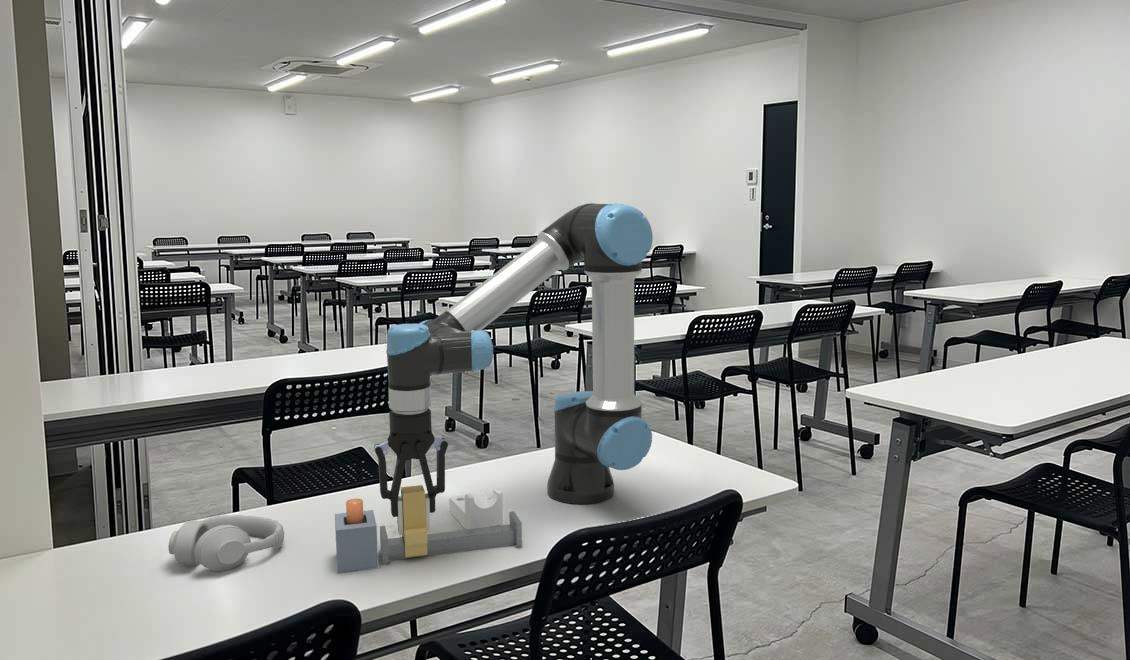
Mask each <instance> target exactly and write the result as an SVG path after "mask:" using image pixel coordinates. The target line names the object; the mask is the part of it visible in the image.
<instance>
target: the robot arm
mask: <svg viewBox="0 0 1130 660" xmlns="http://www.w3.org/2000/svg"><path fill="white" fill-rule="evenodd" d="M651 226H652V225H651V224H650V221H649V219H648V218H647V217H646V215H645V214H644V213H643V212H642V211H641V210H639V208H636V207H634V206H633V205H629V204H628V205H626V204H624V203H616V202H614V203H591V202H590V203H585V204H581V205H578V206H576V207H574V208H573V209H571V210H569V211H568V212H566V213H565V214H563V215H562V216H560V217H559V218H557V219H556V220H555V221H553V222H552V223H551V224H550V225H548V226H547V227H545V228H544V229H543V230H542V231H541V232H539V233H538V234H537V239H536V241H535V242H534V243H532V244H531V245H530V246H529V247H527V248H526V249H525V250H524V251H522V252H521V253H520V254H518V255H517V256H516V257H514V258H513V259H512V260H510V261H509V262H508V263H506V264H505V265H504V266H503V267H501V268H500V269H499V270H497V271H496V272H494V274H492V275H491V276H489V277H488V278H487V279H486V280H484V281H483V282H482V283H480V284H479V285H477V287H475V288H474V289H473V290H471V291H470V292H469V293H468V294H466V295H465V296H464V297H462V298H461V299H460V300H458V301H457V302H456V303H455V304H453V305H452V306H450V307H449V308H448V309H447V310H445V311H444V312H442V313H440V315H438V316H437V317H435V318H434V319H427V320H423V321H421V322H419V323H399V324H396V325H393V326H390V327H389V328H388V330H387V334H386V352H385V353H386V362H387V376H388V407H389V409H390V411H389V414H388V415H389V416H388V417H389V435H388V437H387V440H386V441H384V442H382V443H380V444H379V443H375V444H374V446H373V448H374V453H375V454H376V457H377V461H378V462H377V463H378V465H377V466H378V476H379V477H378V478H379V493H380V497H381V498H382V499H383V500H390V513H391V515H392V517H393V518H396V519H397V532H398V535H399V536H402V535H403V510H402V499H401V495H400V492H401V487H402V486H401V485H402V479H403V474H404V469H405V466H406V461H410V460H418V461H419V465H420V469H421V471H422V472H421V473H422V477H423V480H424V483H425V487H426V491H427V493H426V492H425V512H426V529H427V533H430V532H431V514H433V513H435V512H436V497H437V495H438V494H443V493H444V492H445V490H446V466H445V465H446V452H447V450H448V447H449V443H448V441H447V439H446V438H444V437H442V438H438V437H436V436H435V435H434V434H433V429H432V410H431V409H429V408H430V407H432V401H431V400H432V399H431V398H432V397H431V376H437V375H445V374H446V375H447V374H457V373H466V372H473V373H474V372H477V371H481V370H485V369H488V368H489V367H491V364H492V361H493V360H494V359H493V358H494V345H493V342H492V338H491V336H490V334H489V333H488V332H487V331H485V330H484V329H485V328H486V327H487V326H489V325H490V324H491V323H492V322H494V321H495V320H496V319H498V317H500V316H502V314H504V313H505V312H506V311H508V310H509V309H510V308H511V307H513V306H514V305H515V304H517V303H518V302H519V301H521V300H522V299H523V298H524V297H526V296H527V295H528V294H530V293H531V292H532V291H533V290H535V289H536V288H537V287H539V286H540V285H541V284H543V283H544V282H545V281H546V280H548V279H549V278H550V277H551V276H553V275H554V274H556V273H557V272H558V271H568V270H569V268H571V267H572V266H573V265H576V264H577V263H579V262H582V261H583V265H584V266H583V272H584V273H585V274H586V275H587V276H588V277H589V278H590V279H591V317H592V318H591V320H592V321H591V322H592V323H591V327H592V329H591V330H592V331H591V333H592V334H591V335H592V336H591V338H592V341H591V342H592V344H591V345H592V347H591V348H592V390H589V391H588V390H587V391H573V392H566V393H562V394H560V395H558V396H557V397H556V399H555V401H554V410H553V413H554V461H553V463H552V464H553V465H552V467H551V470H550V473H549V476H548V479H547V488H546V489H547V495H548V496H549V497H550V498H551V499H554V500H556V501H558V502H563V503H566V504H567V503H568V504H575V505H578V504H579V505H580V504H581V505H585V504H587V505H588V504H596V503H599V502H600V503H601V502H604V501H606V500H609V499H611V498H612V497H613V496H614V495H615V481H614V478H613V476H612V472H611V470H610V468H612V469H614V470H617V471H626V470H629V469H632V468H635V467H636V466H638V465H639V464H640V463H641V462H642V460H643V459H644V458H646V456H647V455H648V453H649V452H650V450H651V447H652V442H653V432H652V428H651V427H650V424H648V422H647V421H646V420H645V419H643V418H642V413H643V411H642V410H643V409H642V408H643V407H642V406H643V404H642V403H643V402H642V400H641V399H640V398H639V397H637V395H636V394H635V279H636V278H637V277H638V276H639V275H640V274H641V273H642V270H643V269H642V268H643V267H642V261H644V260H645V259H646V258H647V254H648V253H650V251H651V248H652V246H653V240H654V239H653V231H652V227H651ZM433 444H434V448H435V449H434V450H436V484H435V485H434V483H433V479H432V476H431V471H430V467H429V465H428V459H427V456H426V455H427V453H428V452H429V450H430V449H431V447H432V445H433ZM389 448H390V449H391V450H392V452H393V453H394V454H395V455H396V461H395V462H396V463H395V467H394V473H393V477H392V482H391V487H390V490H389V489H388V474H387V460H386V456H387V455H388V452H389V451H388V450H389Z"/></svg>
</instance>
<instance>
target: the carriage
mask: <svg viewBox="0 0 1130 660" xmlns="http://www.w3.org/2000/svg"><path fill="white" fill-rule="evenodd" d="M425 494H426V491H425V488H424V486H423V484H419V485H409V486H400V496H401V499H402V510H403V535H401V537H403V539H404V542H405V557H413V556H421V555H427V543H428V542H427V534H428V532H427V529H426V512H425Z"/></svg>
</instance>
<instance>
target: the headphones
mask: <svg viewBox="0 0 1130 660" xmlns="http://www.w3.org/2000/svg"><path fill="white" fill-rule="evenodd" d="M257 536H258V538H262V537H263V539H261V540H254V541H251V537H257ZM284 540H285V531H284V527H283V525H282V524H281V523H280V521H277V520H276V519H272V518H270V517H269V518H268V517H263V516H256V515H242V514H233V515H232V514H231V515H225V514H224V515H223V514H221V515H216V516H211V517H207V518H205V519H203V520H196V519H195V520H192V519H191V520H188V521H185V522H184V523H183V524H182V525H181V527H180V528H179V529H178V530H175V531H173V532H172V533H171V535H170V537H169V540H168V546H167V547H168V553H169V554H170V555H173V556H174V558H175V561H176V563H177V564H178V565H180V566H193V567H194V566H198V565H201V566H203V567H204V568H206V569H208V570H211V571H214V572H227V571H229V570H233V569H235V568H236V567H238V566H240V565H241V564H242V563H243V562H244V561H245V560H246V559H247V557H248V555H249V554H250V553H253V552H254V553H255V552H258V551H262V550H268V549H270V548H273V549H275V550H277V549H280V548H281V547H282V545H283V543H284Z"/></svg>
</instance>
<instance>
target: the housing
mask: <svg viewBox="0 0 1130 660" xmlns="http://www.w3.org/2000/svg"><path fill="white" fill-rule="evenodd" d="M363 514H364V523H360V524H351V525H347V514H346V512H342V513H340V512H339V513H335V514H334V524H335V525H334V527H335V543H336V544H335V545H336V546H335V547H336V548H335V549H336V562H337V563H336V565H337V572H338V574H340V573H341V574H342V573H346V572H355V571H356V572H357V571H363V570H372V569H379V556H378V555H379V553H378V527H377V525H378V524H377V521H376V518H375V517H376V516H375V511H374V509H370V510H369V509H368V510H363Z"/></svg>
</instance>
